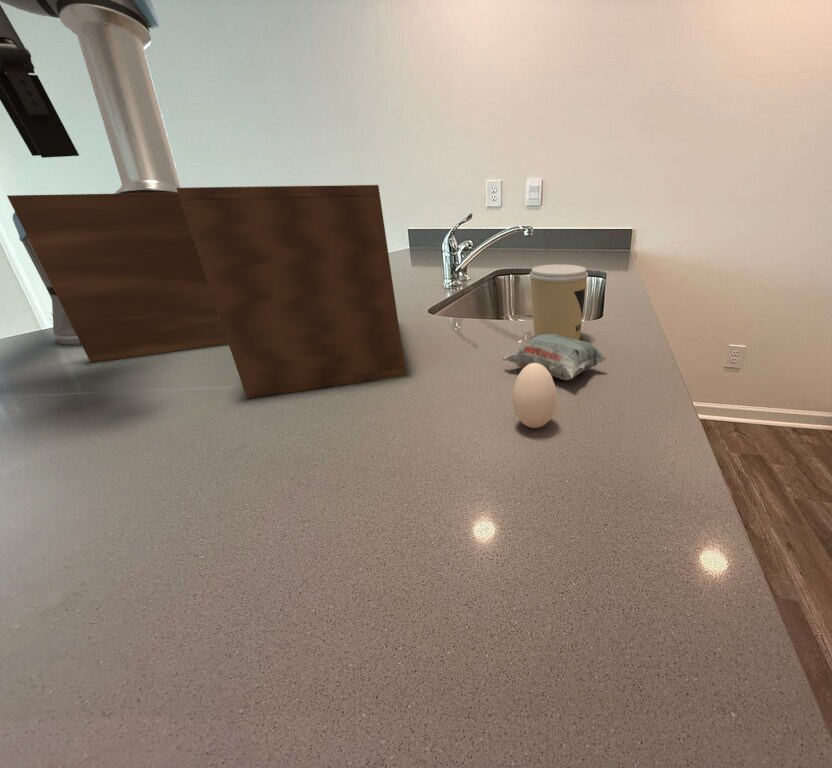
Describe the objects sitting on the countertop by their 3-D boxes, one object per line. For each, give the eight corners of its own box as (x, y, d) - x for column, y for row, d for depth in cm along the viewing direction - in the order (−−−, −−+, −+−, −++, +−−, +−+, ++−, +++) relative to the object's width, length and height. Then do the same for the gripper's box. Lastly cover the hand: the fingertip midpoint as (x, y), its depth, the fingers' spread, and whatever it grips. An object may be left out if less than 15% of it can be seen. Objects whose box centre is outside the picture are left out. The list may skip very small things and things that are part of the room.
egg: (528, 442, 42) (527, 376, 39) (505, 422, 45) (503, 361, 42) (564, 429, 44) (567, 366, 41) (540, 411, 47) (540, 352, 44)
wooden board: (246, 398, 52) (175, 187, 42) (281, 337, 75) (241, 190, 64) (406, 375, 58) (378, 184, 47) (393, 324, 80) (373, 188, 70)
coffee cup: (588, 348, 66) (592, 273, 61) (530, 349, 66) (530, 274, 61) (580, 330, 75) (583, 263, 69) (529, 331, 75) (529, 264, 70)
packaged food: (571, 394, 51) (573, 357, 49) (502, 371, 58) (501, 338, 56) (605, 373, 57) (608, 339, 55) (538, 354, 64) (539, 324, 62)
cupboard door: (107, 349, 70) (34, 195, 60) (279, 327, 80) (241, 192, 69) (90, 362, 64) (6, 195, 54) (277, 337, 74) (235, 191, 64)
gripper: (-160, -106, 38) (1, 156, 49) (-248, -261, 23) (8, 160, 35) (-38, -82, 42) (83, 152, 54) (-49, -199, 28) (119, 154, 39)
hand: (54, 156), depth 44 cm, fingers open, 13 cm apart
